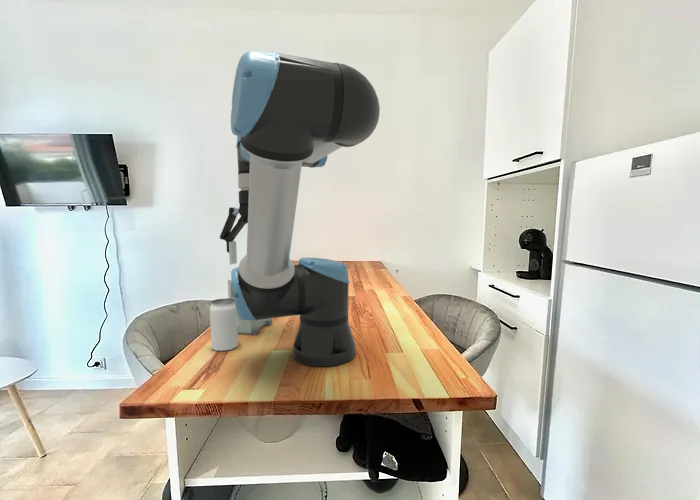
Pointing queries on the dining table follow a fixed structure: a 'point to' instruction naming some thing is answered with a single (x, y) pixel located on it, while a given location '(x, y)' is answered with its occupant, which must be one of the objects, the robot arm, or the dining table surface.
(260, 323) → the door
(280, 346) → the dining table surface
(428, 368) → the dining table surface
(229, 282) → the cabinet
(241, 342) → the dining table surface
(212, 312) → the can
